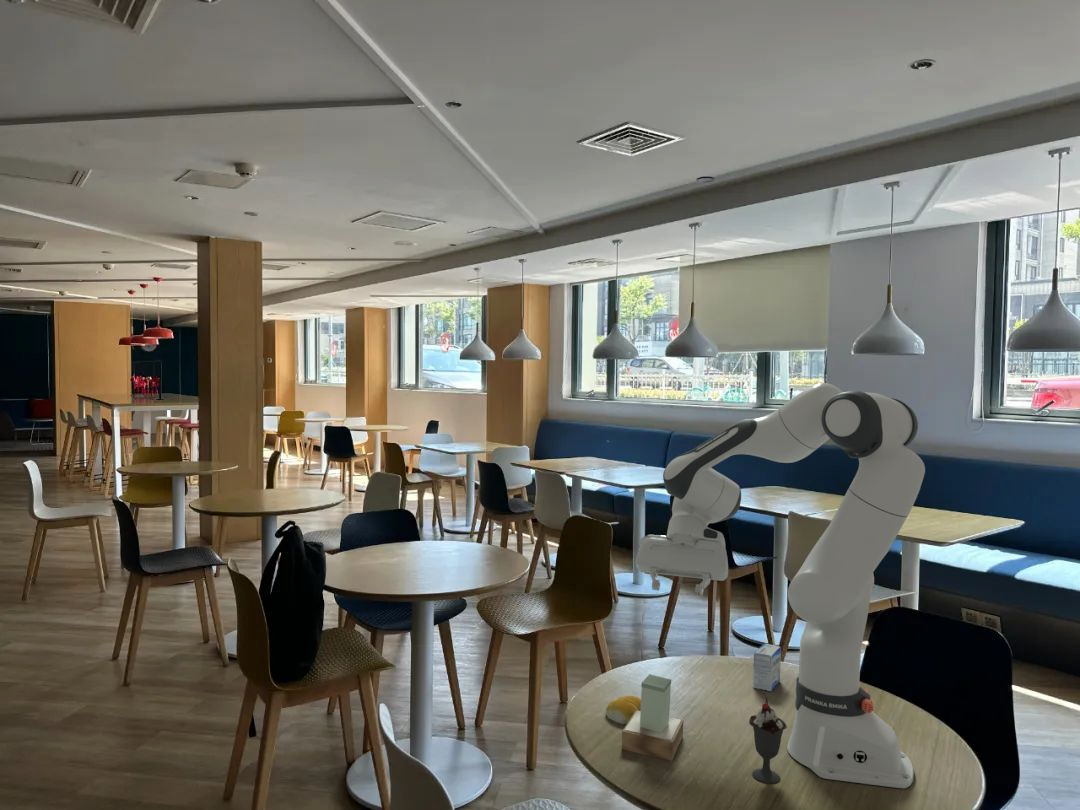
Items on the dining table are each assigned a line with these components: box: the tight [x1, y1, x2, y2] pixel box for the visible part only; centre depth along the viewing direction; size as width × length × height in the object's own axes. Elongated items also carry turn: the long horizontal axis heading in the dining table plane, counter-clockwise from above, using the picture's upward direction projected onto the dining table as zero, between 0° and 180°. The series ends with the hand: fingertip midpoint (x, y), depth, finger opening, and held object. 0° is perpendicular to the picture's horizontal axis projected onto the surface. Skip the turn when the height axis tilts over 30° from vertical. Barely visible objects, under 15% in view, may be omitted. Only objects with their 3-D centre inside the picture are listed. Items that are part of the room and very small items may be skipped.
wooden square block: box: [621, 710, 684, 761], centre depth 147 cm, size 10×10×4 cm
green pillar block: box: [640, 674, 672, 733], centre depth 146 cm, size 5×5×9 cm
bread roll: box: [605, 695, 641, 725], centre depth 159 cm, size 8×9×4 cm
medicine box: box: [752, 643, 782, 692], centre depth 176 cm, size 8×4×9 cm, turn 147°
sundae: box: [748, 691, 788, 785], centre depth 135 cm, size 7×7×15 cm
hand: (676, 591), depth 159 cm, fingers open, 8 cm apart
